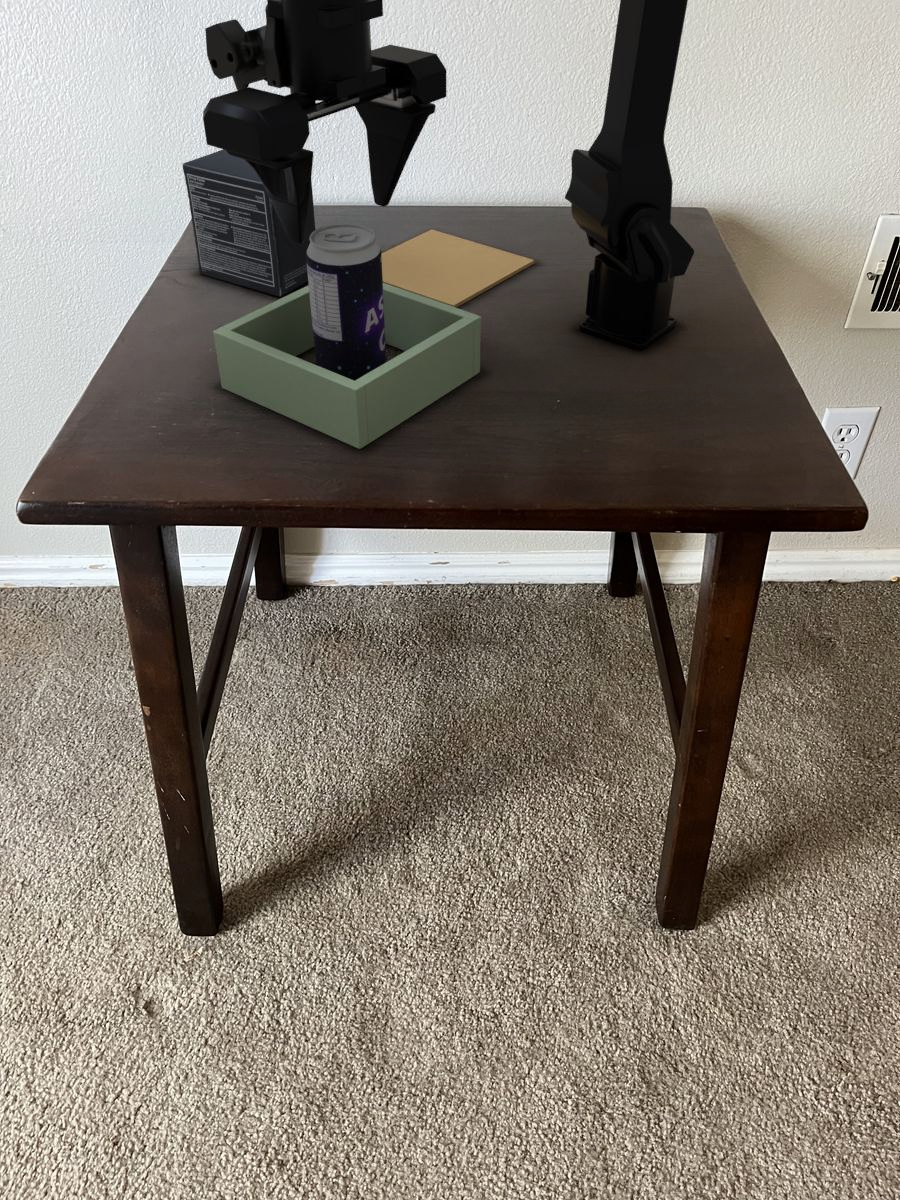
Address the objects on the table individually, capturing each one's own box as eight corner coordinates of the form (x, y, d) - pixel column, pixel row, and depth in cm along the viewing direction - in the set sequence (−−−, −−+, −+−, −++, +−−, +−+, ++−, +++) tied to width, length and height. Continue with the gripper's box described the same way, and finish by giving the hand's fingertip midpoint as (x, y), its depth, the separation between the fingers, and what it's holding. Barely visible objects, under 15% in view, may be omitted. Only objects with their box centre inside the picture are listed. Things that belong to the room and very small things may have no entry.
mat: (534, 263, 103) (534, 259, 103) (453, 309, 95) (453, 305, 95) (431, 232, 109) (431, 229, 109) (348, 273, 101) (348, 269, 101)
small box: (324, 275, 101) (315, 163, 94) (281, 299, 97) (268, 184, 90) (241, 251, 105) (226, 143, 98) (196, 274, 101) (178, 163, 94)
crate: (480, 372, 86) (481, 315, 83) (359, 449, 77) (355, 389, 74) (346, 322, 93) (342, 268, 90) (221, 388, 84) (212, 331, 81)
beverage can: (377, 400, 83) (369, 253, 75) (308, 393, 84) (294, 247, 76) (394, 367, 87) (388, 224, 79) (329, 360, 88) (317, 218, 80)
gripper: (331, -53, 76) (345, 167, 86) (126, -11, 65) (170, 235, 75) (451, -35, 71) (451, 196, 81) (250, 13, 60) (280, 275, 70)
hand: (340, 223), depth 77 cm, fingers open, 9 cm apart
